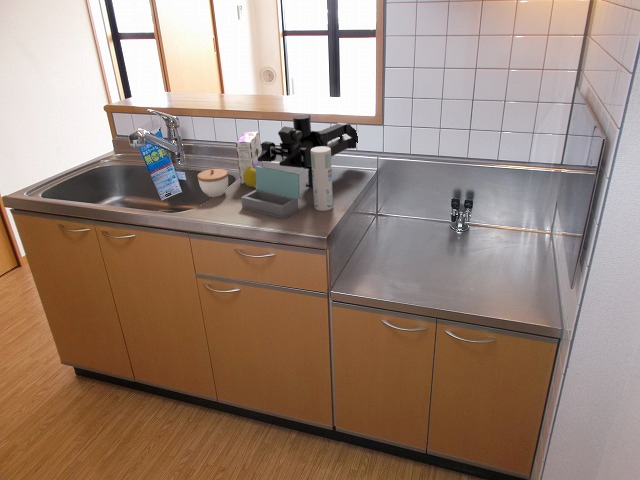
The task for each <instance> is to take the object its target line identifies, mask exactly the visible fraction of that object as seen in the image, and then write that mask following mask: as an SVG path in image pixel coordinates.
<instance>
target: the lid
mask: <svg viewBox="0 0 640 480" xmlns="http://www.w3.org/2000/svg"><path fill="white" fill-rule="evenodd" d="M255 171H256V185H255V187H256V189H258V190H262V191H266V192H270V193H275V194H279V195H283V196H288V197H292V198H296V199H298V200H299V199H301V194H300V193H301V191H300V190H301V188H300V186H301V185H300V184H301V183H300V182H301V181H300V173H295V172H289V171H285V170H280V169H276V168H275V169H274V168H271V167H270V168H269V167H266V166H263V167H261V166H255ZM256 189H255V190H256Z"/></svg>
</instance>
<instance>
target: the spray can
mask: <svg viewBox="0 0 640 480" xmlns="http://www.w3.org/2000/svg"><path fill="white" fill-rule="evenodd" d="M311 165H312V179H313V187H312V191H313V192H312V193H313V204H314V205H313V207H314V210H317V211H319V212H320V211H321V212H325V211H329V210H332V209H333V207H334V201H333V197H334V195H333V173H332V170H333V168H332V157H331V148H329V147H325V146H319V147H314V148H312V149H311Z"/></svg>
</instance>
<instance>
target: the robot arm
mask: <svg viewBox="0 0 640 480" xmlns="http://www.w3.org/2000/svg"><path fill="white" fill-rule="evenodd" d="M292 123H293V124H292V125H293V127H290V126H283V127H282V128H281V129H280V130H279V131H278V133H277V134H278V136H279V139H280V140H281V142H280V143H279V147H278V146H277V147H276V143H274V142H272V141H266V140H265V141H263V142H262V143H260V146H261V155H260V156H259V157H258V161H261V162H262V163H264V162H266V163H271V162H273V161H275V160H276V159H277V156H280V157H281V161H279V163H278V165H279V166H281V167H290V168H299V169H301V168H302V169H306V170H307V173H308V175H307V178H308V179H307V180H308V181H307V183H305V186H307V187H311V188H313V179H312V165H311V149H312V148H314V147H319V146H325V147H329V148H331V158H332V157H334V156H335V155H338V154H340V153H341V152H344V151H346V150H348V149H357V148H356V142H357V143H358V136H357V133H356V130H357V129H356V130H355V128H354V127H353V126H352V125H351V124H350V123H348V122H341V121H339V122H337V123H336V124H334V125H332V126H329V127H326V128H325V129H324V128H323V129H322V130H312V129H311V128H312V127H311V114H304V115H294V116H292ZM344 134H347V135H348V136H342V135H344ZM338 137H340V139H339V138H338ZM335 139H336V140H335ZM333 140H334V141H333ZM331 141H332V142H331ZM329 142H330V143H329Z"/></svg>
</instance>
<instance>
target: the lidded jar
mask: <svg viewBox="0 0 640 480" xmlns="http://www.w3.org/2000/svg"><path fill="white" fill-rule="evenodd" d="M228 175H229V174H228V171H227V170H226V169H224V168H223V169H222V168H210V169H206V170H203V171H200V172H199V173H198V174H197V179H198V183H199V187H200V189H201V191H202V192H203V193H204V194H206V196H207V197H210V198H216V197H220V196H223V195H224V194H225V192H226V191H227V189H228V186H229V177H228Z"/></svg>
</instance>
